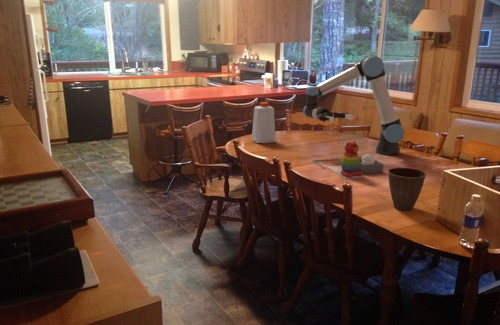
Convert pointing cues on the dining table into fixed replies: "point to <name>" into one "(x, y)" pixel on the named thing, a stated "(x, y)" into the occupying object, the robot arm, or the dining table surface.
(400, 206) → the plant pot
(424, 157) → the dining table surface
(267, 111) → the plastic bottle
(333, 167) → the track
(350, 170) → the stacking bear
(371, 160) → the dome
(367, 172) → the popper base
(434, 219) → the dining table surface
